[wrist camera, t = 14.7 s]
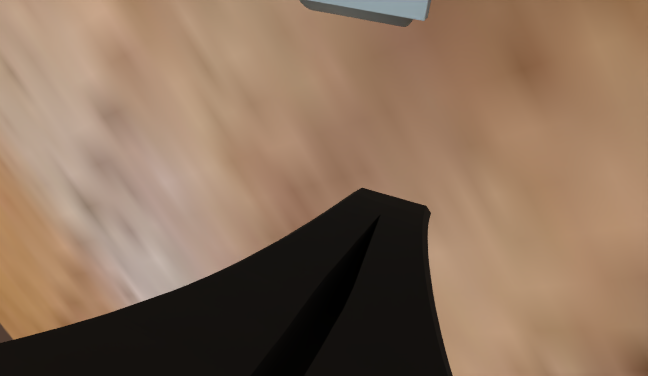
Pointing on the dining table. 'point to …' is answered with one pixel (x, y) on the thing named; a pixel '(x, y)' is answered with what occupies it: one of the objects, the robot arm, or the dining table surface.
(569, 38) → the dining table surface
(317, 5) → the castor
